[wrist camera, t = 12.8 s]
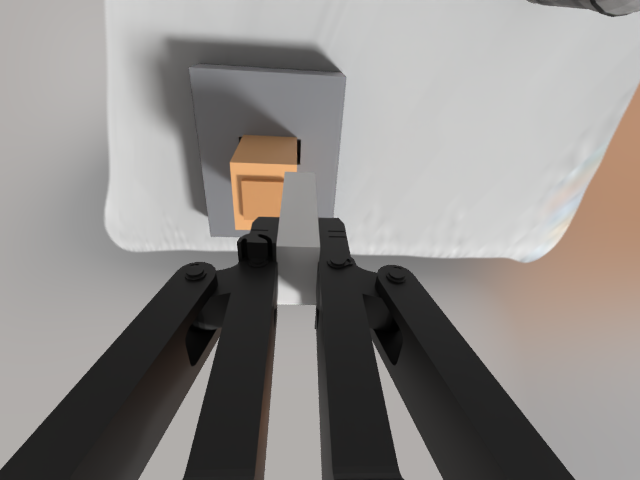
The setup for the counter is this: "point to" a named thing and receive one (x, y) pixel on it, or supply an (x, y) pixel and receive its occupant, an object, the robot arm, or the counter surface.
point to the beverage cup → (597, 5)
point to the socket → (265, 127)
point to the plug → (260, 176)
